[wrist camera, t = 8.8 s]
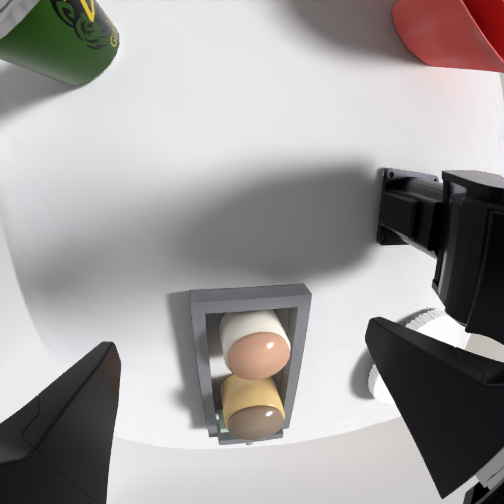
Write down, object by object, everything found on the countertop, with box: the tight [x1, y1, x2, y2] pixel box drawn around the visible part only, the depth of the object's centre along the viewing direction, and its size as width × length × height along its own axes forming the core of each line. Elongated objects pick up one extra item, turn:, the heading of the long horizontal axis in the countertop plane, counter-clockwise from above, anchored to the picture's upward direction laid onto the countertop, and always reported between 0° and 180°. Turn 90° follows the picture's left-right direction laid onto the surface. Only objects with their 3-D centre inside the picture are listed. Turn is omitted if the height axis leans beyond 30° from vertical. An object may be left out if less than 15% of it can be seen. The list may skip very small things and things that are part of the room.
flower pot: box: [392, 0, 504, 73], centre depth 11 cm, size 11×11×10 cm
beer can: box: [0, 0, 119, 85], centre depth 8 cm, size 5×5×12 cm
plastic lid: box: [368, 309, 460, 404], centre depth 28 cm, size 14×14×2 cm
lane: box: [190, 284, 312, 445], centre depth 23 cm, size 9×18×3 cm, turn 179°
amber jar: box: [221, 374, 285, 440], centre depth 23 cm, size 6×6×5 cm
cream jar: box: [219, 309, 291, 380], centre depth 21 cm, size 5×5×4 cm
